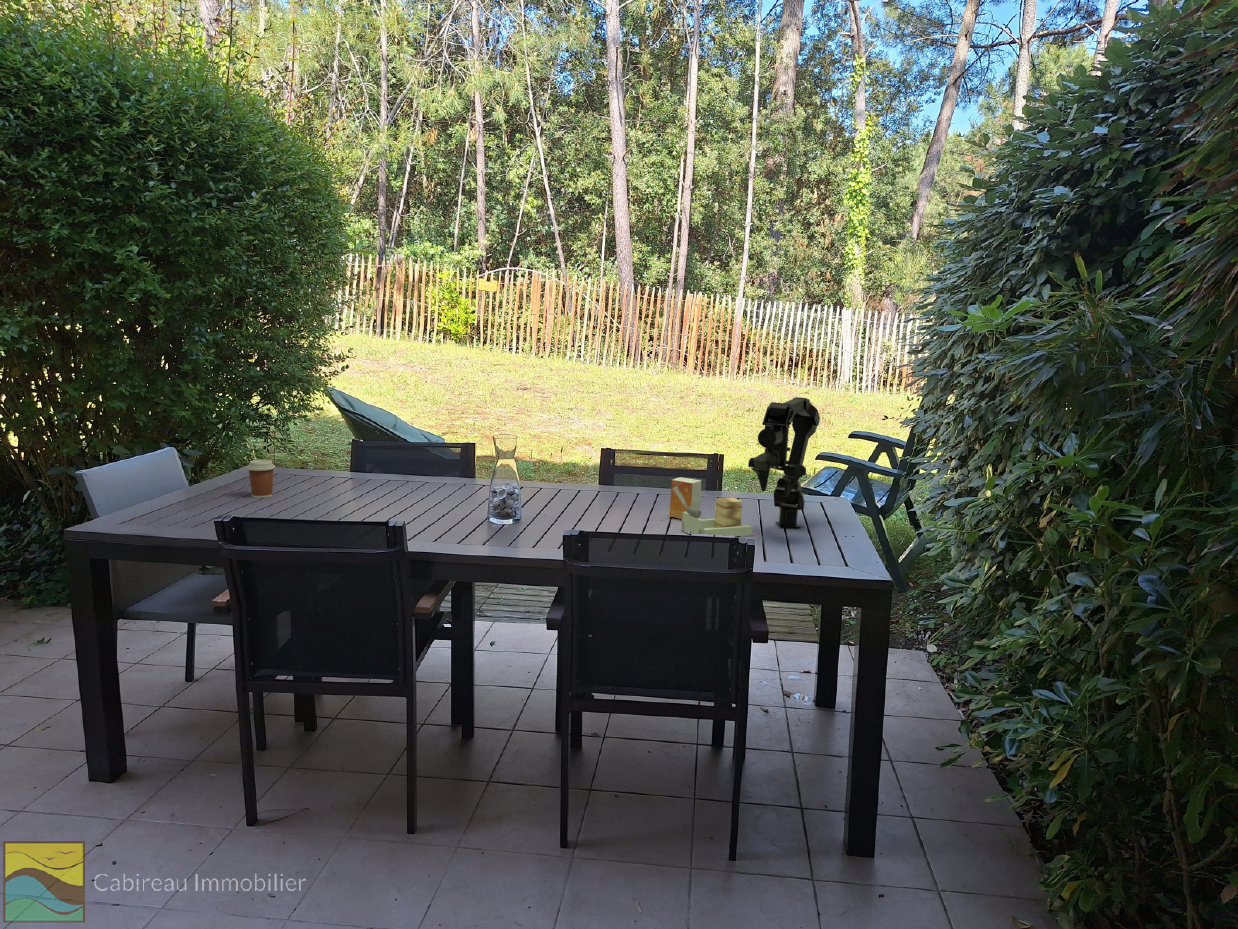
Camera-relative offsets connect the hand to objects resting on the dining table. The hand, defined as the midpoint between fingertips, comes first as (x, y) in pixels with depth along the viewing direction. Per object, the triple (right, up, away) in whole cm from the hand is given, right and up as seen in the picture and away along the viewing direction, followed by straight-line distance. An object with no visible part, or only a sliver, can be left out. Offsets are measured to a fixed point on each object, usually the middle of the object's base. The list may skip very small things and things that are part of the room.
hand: (774, 494), depth 271 cm
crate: (-14, -12, +4) cm, 19 cm away
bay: (-18, -12, +2) cm, 22 cm away
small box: (-26, -9, +20) cm, 34 cm away
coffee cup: (-170, -2, +30) cm, 172 cm away
